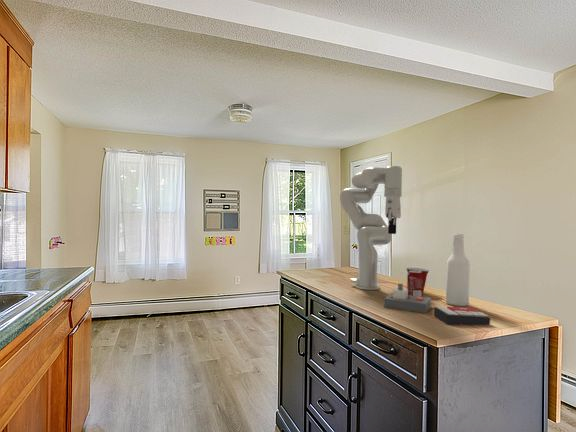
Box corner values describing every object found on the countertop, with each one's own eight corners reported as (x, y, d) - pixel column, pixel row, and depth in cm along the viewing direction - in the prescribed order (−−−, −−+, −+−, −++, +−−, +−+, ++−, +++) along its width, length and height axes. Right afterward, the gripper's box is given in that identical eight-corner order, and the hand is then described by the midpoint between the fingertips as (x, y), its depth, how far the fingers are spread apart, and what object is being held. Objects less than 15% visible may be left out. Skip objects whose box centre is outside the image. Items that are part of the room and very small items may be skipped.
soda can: (423, 299, 161) (424, 272, 161) (407, 298, 162) (408, 272, 162) (421, 296, 167) (421, 270, 167) (406, 295, 169) (406, 269, 169)
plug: (392, 304, 147) (392, 284, 147) (395, 302, 152) (395, 282, 152) (404, 306, 145) (405, 285, 145) (407, 303, 149) (407, 283, 149)
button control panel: (490, 315, 123) (447, 312, 123) (490, 328, 123) (447, 325, 123) (473, 307, 134) (434, 304, 134) (472, 318, 134) (433, 316, 134)
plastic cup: (433, 293, 174) (434, 268, 174) (420, 295, 168) (420, 270, 168) (414, 289, 183) (415, 265, 183) (400, 291, 177) (401, 267, 177)
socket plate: (384, 307, 146) (384, 296, 146) (391, 301, 156) (391, 291, 156) (425, 313, 138) (426, 301, 138) (430, 306, 148) (430, 296, 148)
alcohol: (442, 301, 158) (444, 233, 158) (463, 302, 157) (464, 233, 157) (450, 306, 149) (452, 234, 149) (472, 307, 148) (473, 234, 148)
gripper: (397, 192, 155) (396, 234, 155) (404, 194, 168) (404, 233, 168) (380, 192, 158) (379, 234, 158) (388, 194, 171) (388, 232, 171)
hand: (392, 233), depth 163 cm, fingers closed
